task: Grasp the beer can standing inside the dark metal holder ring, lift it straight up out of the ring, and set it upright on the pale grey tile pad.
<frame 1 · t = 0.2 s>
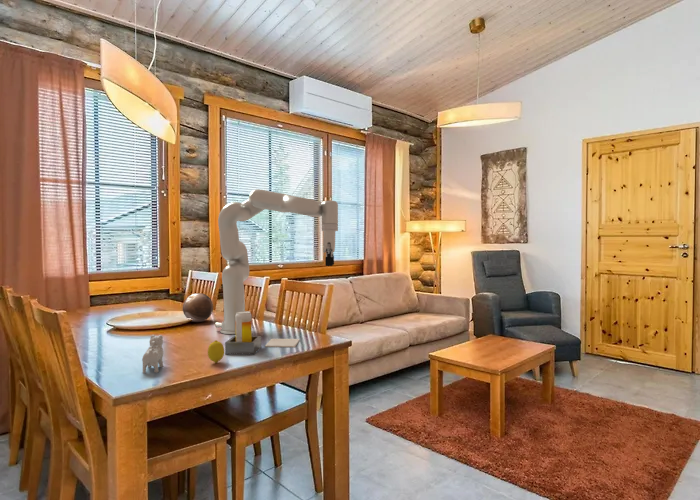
hand: (329, 265, 205), 31 cm above the table, tool pointing down, fingers open, 9 cm apart
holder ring: (243, 350, 173), on the table
lemon: (216, 363, 157), on the table
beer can: (243, 351, 173), resting in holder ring
tile pad: (282, 343, 185), on the table
white dog figurine: (153, 369, 150), on the table
wooden sphere: (198, 322, 232), on the table
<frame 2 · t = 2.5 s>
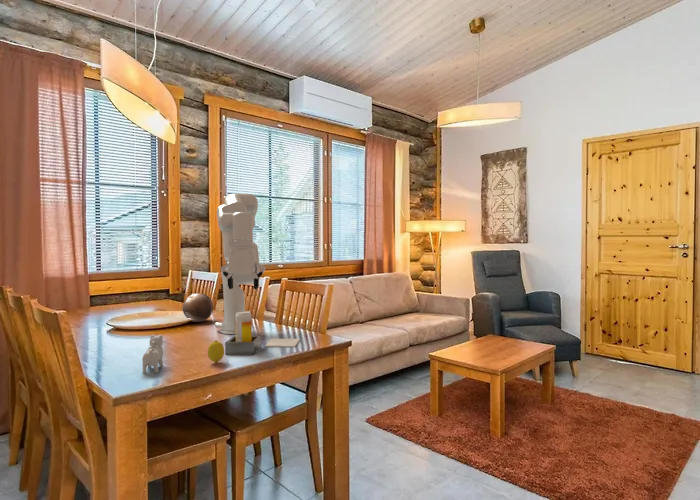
hand: (243, 288, 172), 24 cm above the table, tool pointing down, fingers open, 9 cm apart
nothing on the table moved.
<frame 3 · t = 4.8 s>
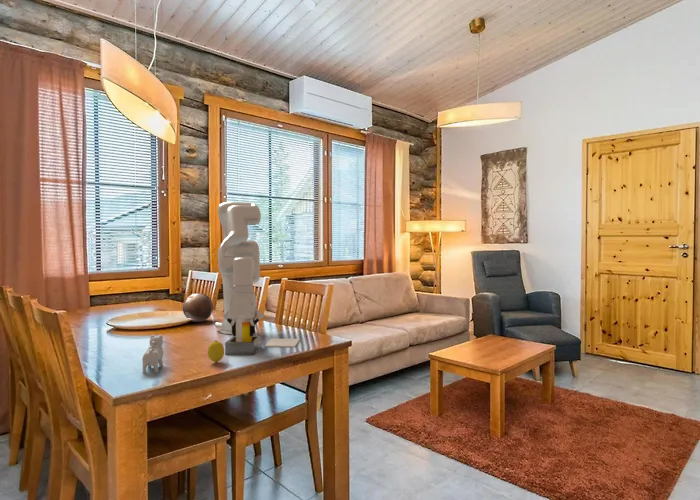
hand: (243, 335, 173), 6 cm above the table, tool pointing down, fingers closed on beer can, 5 cm apart
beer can: (243, 351, 173), resting in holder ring, touching gripper
everything else where it was.
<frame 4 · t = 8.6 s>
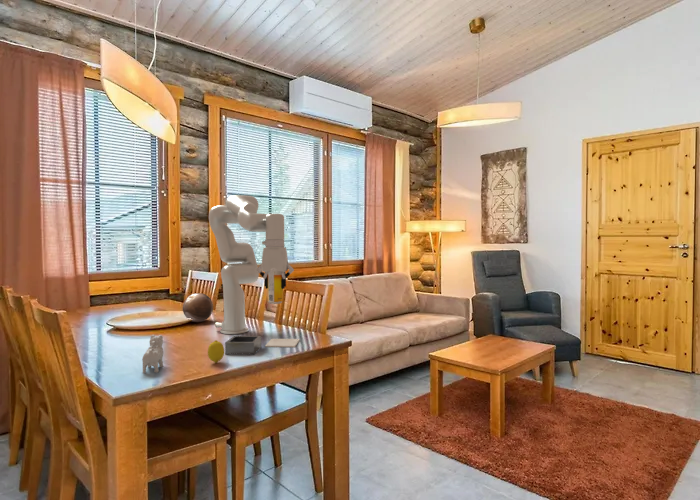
hand: (275, 287, 182), 23 cm above the table, tool pointing down, fingers closed on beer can, 5 cm apart
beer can: (275, 303, 182), point 17 cm above the table, touching gripper
everything else where it was.
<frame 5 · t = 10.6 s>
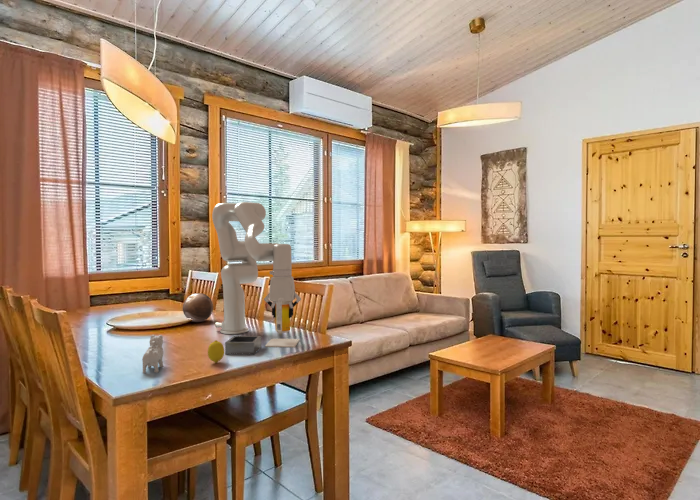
hand: (282, 316, 184), 11 cm above the table, tool pointing down, fingers closed on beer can, 5 cm apart
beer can: (282, 332, 185), point 5 cm above the table, touching gripper
everything else where it was.
when the fingers open (7 cm above the table, at t = 12.1 s): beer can stays where it is, resting on tile pad.
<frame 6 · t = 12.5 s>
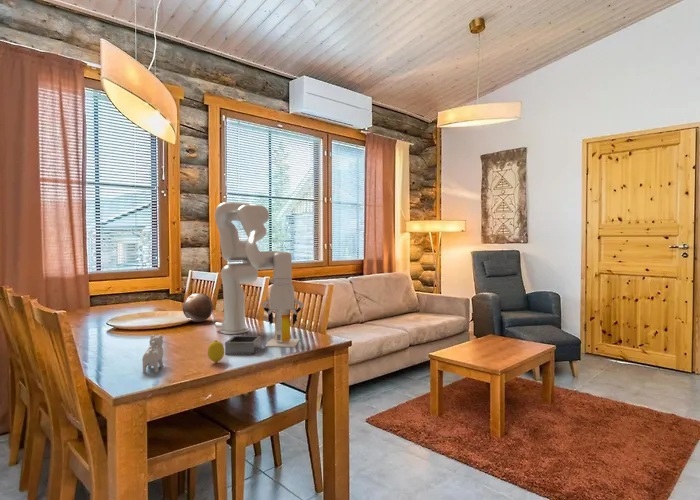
hand: (282, 323, 184), 8 cm above the table, tool pointing down, fingers open, 9 cm apart
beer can: (282, 342, 185), resting on tile pad
everything else where it was.
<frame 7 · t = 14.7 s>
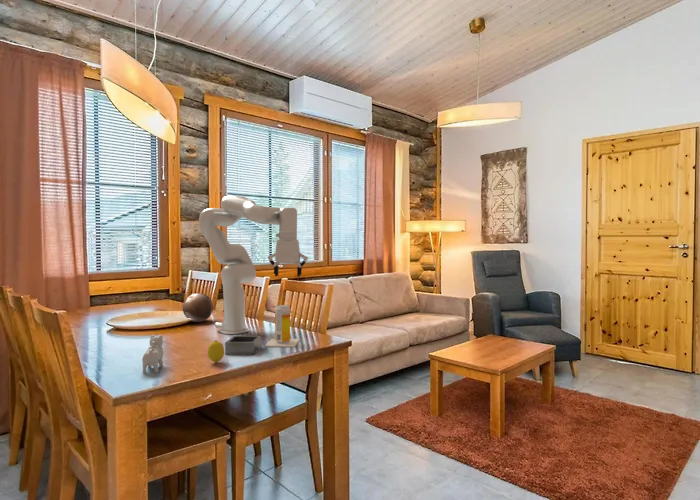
hand: (287, 276, 192), 27 cm above the table, tool pointing down, fingers open, 9 cm apart
nothing on the table moved.
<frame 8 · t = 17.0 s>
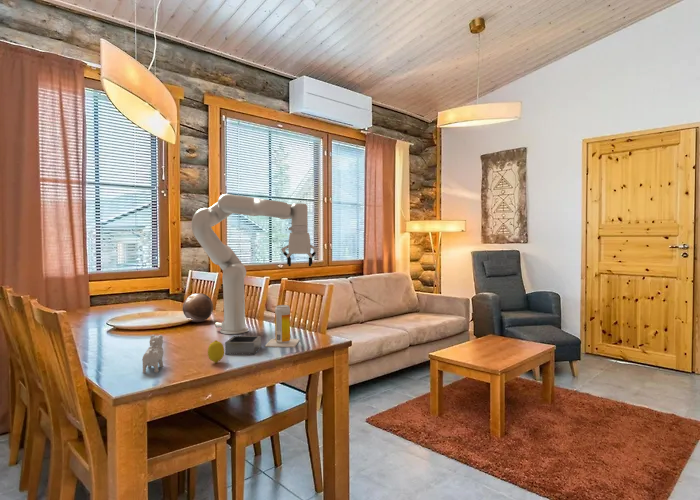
hand: (299, 266, 211), 30 cm above the table, tool pointing down, fingers open, 9 cm apart
nothing on the table moved.
at the end: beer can inside the target area on the tile pad (0.1 cm from its centre), point 0.4 cm above the tile pad's base; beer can tilted 0°; the gripper is holding nothing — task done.
